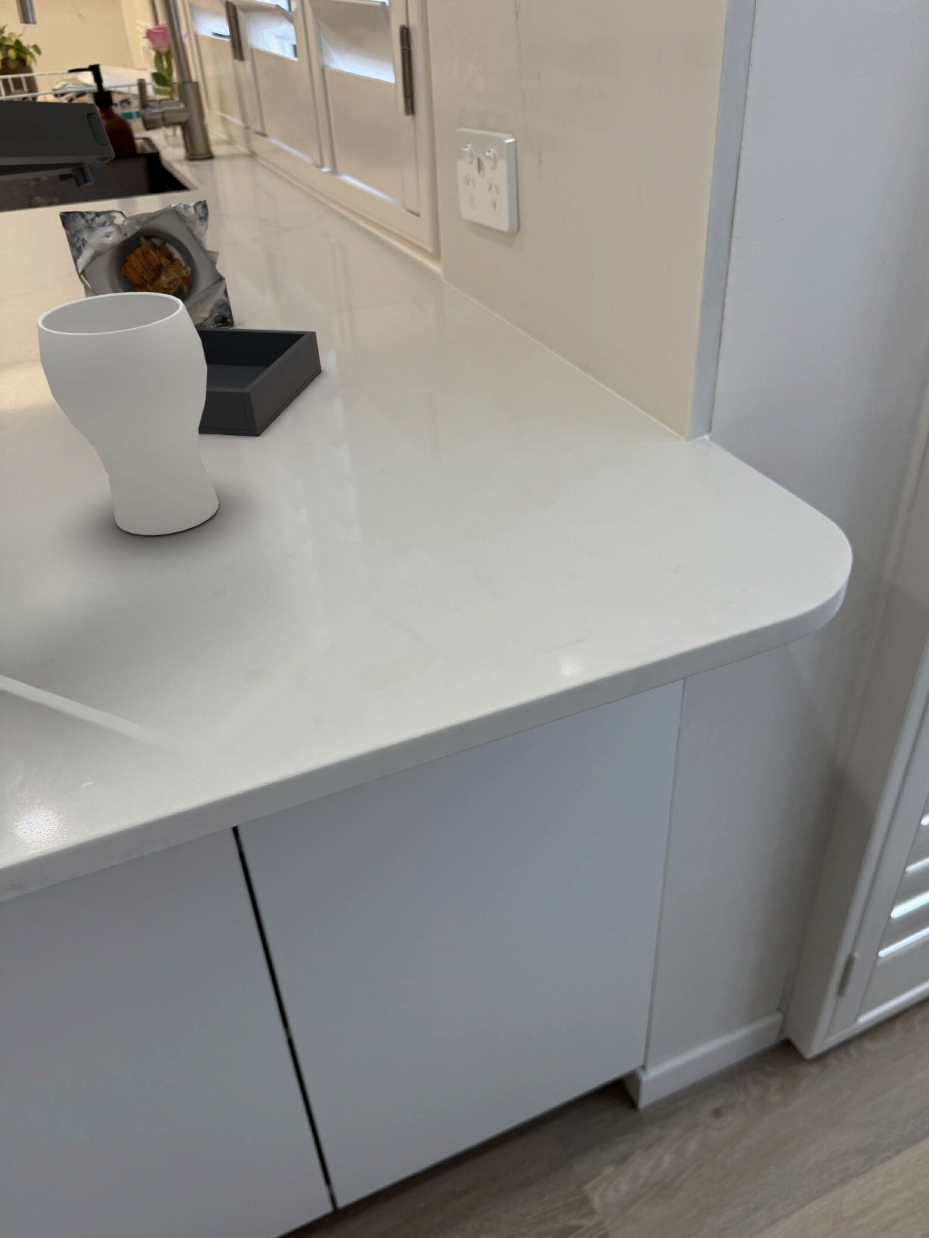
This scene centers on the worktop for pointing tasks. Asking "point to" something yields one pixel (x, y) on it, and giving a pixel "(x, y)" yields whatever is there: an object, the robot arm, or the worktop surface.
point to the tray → (253, 376)
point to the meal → (150, 257)
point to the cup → (135, 402)
